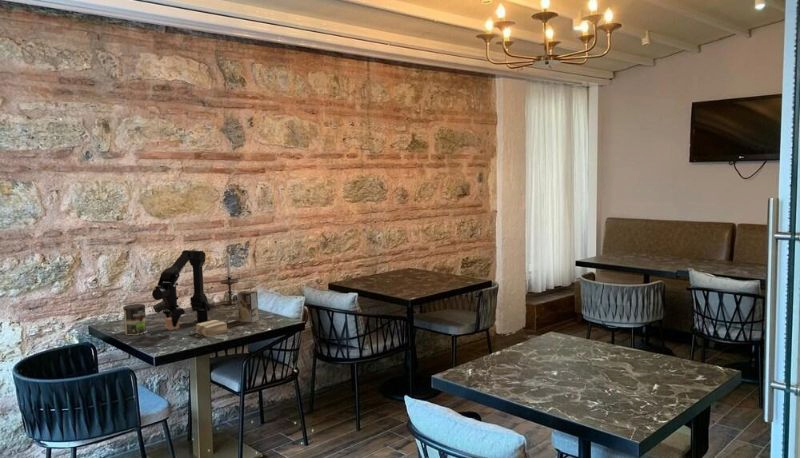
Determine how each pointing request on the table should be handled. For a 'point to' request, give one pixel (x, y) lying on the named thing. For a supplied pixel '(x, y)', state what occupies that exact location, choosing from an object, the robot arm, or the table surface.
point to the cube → (170, 324)
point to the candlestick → (229, 283)
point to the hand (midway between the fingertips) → (172, 325)
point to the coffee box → (248, 306)
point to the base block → (211, 328)
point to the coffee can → (135, 319)
